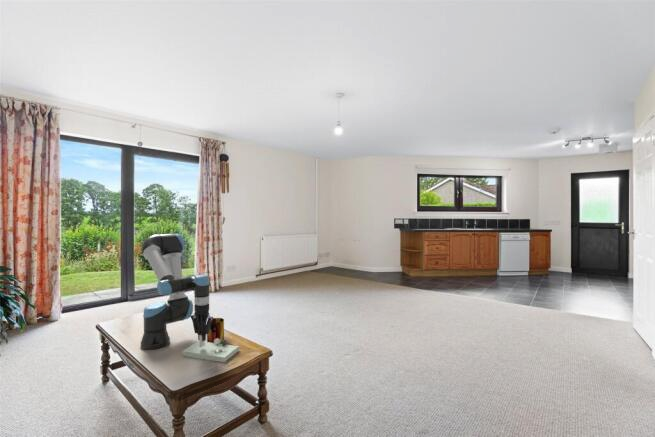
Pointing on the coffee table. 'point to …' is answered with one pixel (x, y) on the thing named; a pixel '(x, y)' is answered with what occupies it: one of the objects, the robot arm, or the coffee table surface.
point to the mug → (216, 330)
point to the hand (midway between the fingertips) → (201, 346)
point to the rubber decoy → (223, 342)
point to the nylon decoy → (217, 341)
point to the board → (210, 351)
